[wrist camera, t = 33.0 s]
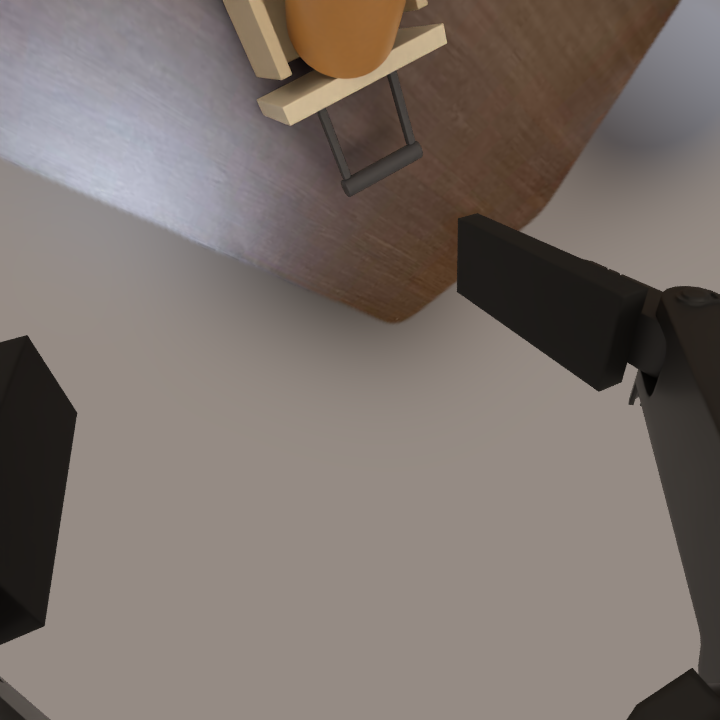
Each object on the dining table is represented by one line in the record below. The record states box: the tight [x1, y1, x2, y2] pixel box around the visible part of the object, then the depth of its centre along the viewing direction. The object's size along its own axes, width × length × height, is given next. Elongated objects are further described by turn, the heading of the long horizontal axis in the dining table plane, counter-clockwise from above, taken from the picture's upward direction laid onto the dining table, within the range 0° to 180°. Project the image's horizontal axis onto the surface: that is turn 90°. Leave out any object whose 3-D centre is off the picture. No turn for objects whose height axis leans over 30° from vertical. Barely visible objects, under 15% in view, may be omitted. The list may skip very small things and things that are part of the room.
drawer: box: [222, 0, 447, 197], centre depth 31 cm, size 22×12×8 cm, turn 21°
